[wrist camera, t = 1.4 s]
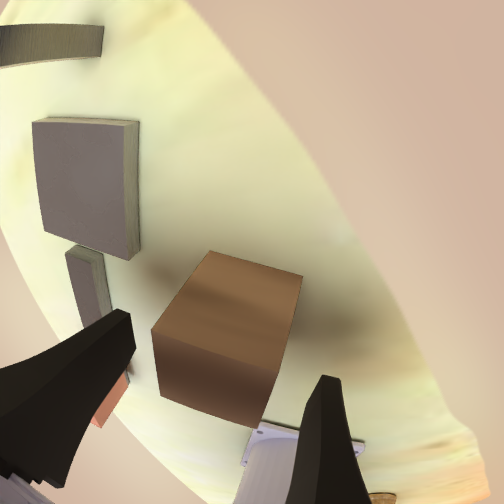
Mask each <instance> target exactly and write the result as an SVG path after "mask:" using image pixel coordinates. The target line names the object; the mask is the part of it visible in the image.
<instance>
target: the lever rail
mask: <svg viewBox="0 0 504 504" xmlns="http://www.w3.org/2000/svg"><path fill="white" fill-rule="evenodd" d="M65 257H66V262H67V267H68V271H69V275H70V280H71V284H72V288H73V292H74V295H75V299H76V303H77V307H78V310H79V314H80V317H81V320H82V324H83V327H84V329H85V328H86V327H88V326H89V325H91V324H93V323H94V322H96V321H97V320H99V319H100V318H102V317H104V316H105V315H107V314H109V313H110V312H112V308H111V303H110V298H109V292H108V287H107V281H106V275H105V268H104V262H103V255H102V254H101V253H98V252H95V251H93V250H90V249H87V248H84V247H81V246H79V245H75V246H74V247H72V248H71V249H70V250H68V251H67V252H66V253H65ZM124 375H125V378H126V382H127V385H129V383H130V382H129V379H128V375H127V372H126V369H125V371H124Z"/></svg>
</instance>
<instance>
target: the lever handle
mask: <svg viewBox="0 0 504 504" xmlns="http://www.w3.org/2000/svg"><path fill="white" fill-rule="evenodd" d="M127 388H128V385H127V382H126V378H125V375H124V372H123V374H122V375H121V376H120V378H119V379H118V381H117V382H116V384H115V385H114V387H113V388H112V389H111V391H110V392H109V394H108V395H107V396H106V398H105V399H104V401H103V402H102V404H101V405H100V407H99V408H98V409H97V411H96V413H95V414H94V416H93V418H92V420H91V423H92V424H94V425H96V426H97V427H100V428H102V426H103V425H104V423H105V422H106V420H107V419H108V417H109V415H110V414H111V412H112V411H113V409H114V408H115V406H116V405H117V403H118V402H119V400H120V398H121V397H122V395H123V394H124V392H125V391H126V389H127Z"/></svg>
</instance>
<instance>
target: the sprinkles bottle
mask: <svg viewBox="0 0 504 504" xmlns="http://www.w3.org/2000/svg"><path fill="white" fill-rule="evenodd" d="M369 497H370V499H371V502H372V504H395V502H396V496H394V495H391V494H370V495H369Z"/></svg>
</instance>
